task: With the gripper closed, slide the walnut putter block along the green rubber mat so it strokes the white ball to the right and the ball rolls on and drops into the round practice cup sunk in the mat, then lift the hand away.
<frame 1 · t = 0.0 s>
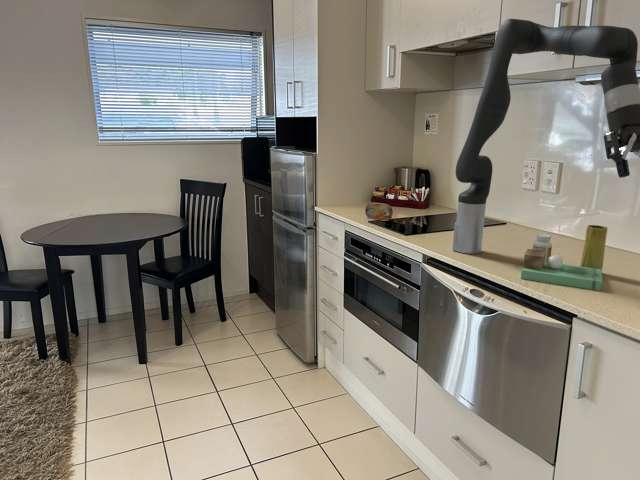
hand: (637, 176, 108), 31 cm above the worktop, tool tilted 20°, fingers open, 8 cm apart
putter block: (533, 265, 140), point 2 cm above the worktop, touching green
green: (560, 278, 137), on the worktop
supplement bottle: (539, 265, 150), on the worktop
tin: (378, 221, 221), on the worktop
vase: (590, 273, 143), on the worktop
ball: (555, 262, 137), point 4 cm above the worktop, touching green
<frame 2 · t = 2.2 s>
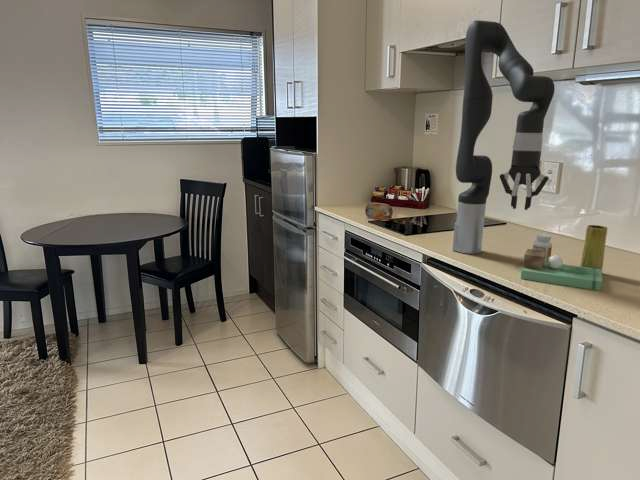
hand: (520, 208, 139), 19 cm above the worktop, tool pointing down, fingers closed
nothing on the worktop moved.
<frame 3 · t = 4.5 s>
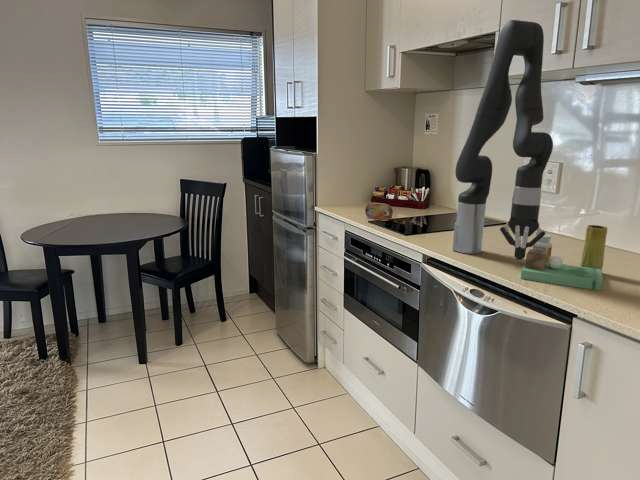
hand: (519, 259, 141), 4 cm above the worktop, tool pointing down, fingers closed
putter block: (535, 266, 140), point 2 cm above the worktop, touching green, gripper
everything else where it was.
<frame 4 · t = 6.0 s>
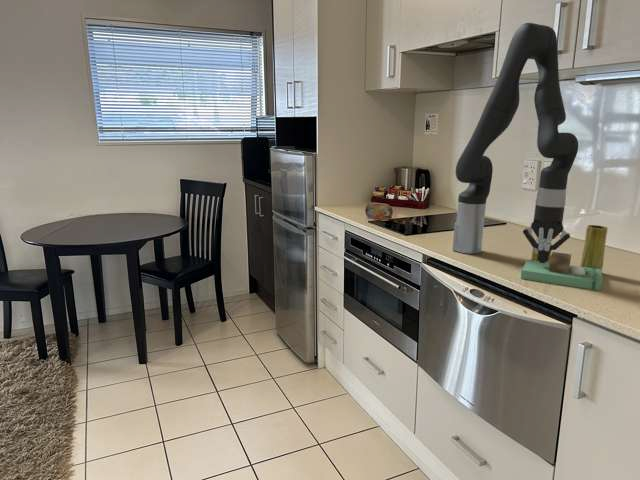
hand: (542, 262, 138), 4 cm above the worktop, tool pointing down, fingers closed
putter block: (559, 269, 137), point 2 cm above the worktop, touching green, gripper
ball: (577, 273, 135), point 2 cm above the worktop, tilted 149°, touching green
everything else where it was.
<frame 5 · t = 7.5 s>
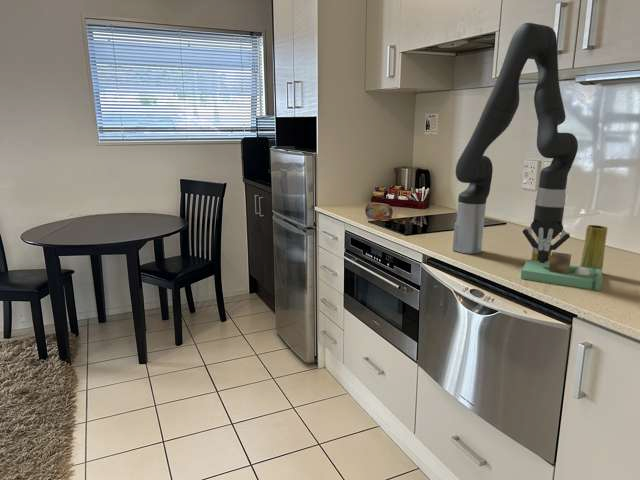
hand: (542, 262, 138), 4 cm above the worktop, tool pointing down, fingers closed
ball: (582, 274, 134), point 2 cm above the worktop, tilted 139°, touching green
everything else where it was.
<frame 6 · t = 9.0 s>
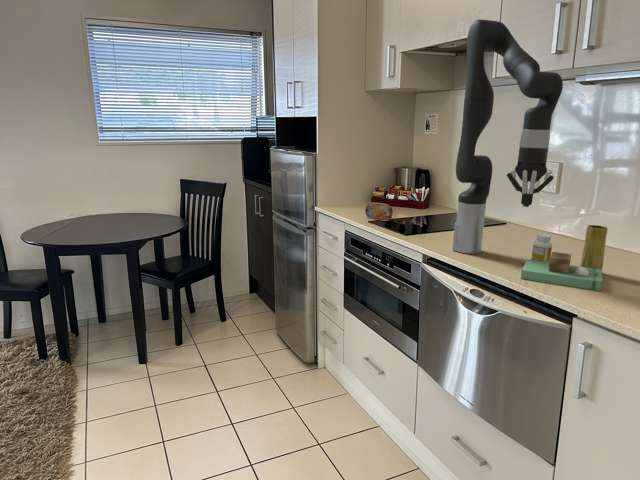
hand: (525, 206, 138), 20 cm above the worktop, tool pointing down, fingers closed
putter block: (559, 269, 137), point 2 cm above the worktop, touching green
everything else where it was.
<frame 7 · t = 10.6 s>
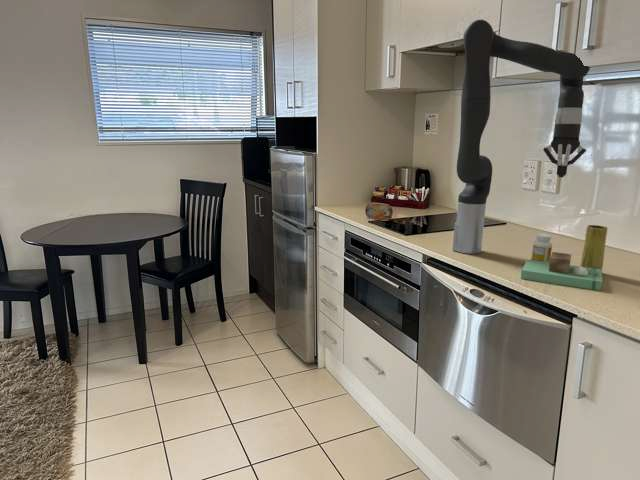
hand: (560, 177, 155), 27 cm above the worktop, tool pointing down, fingers closed
nothing on the worktop moved.
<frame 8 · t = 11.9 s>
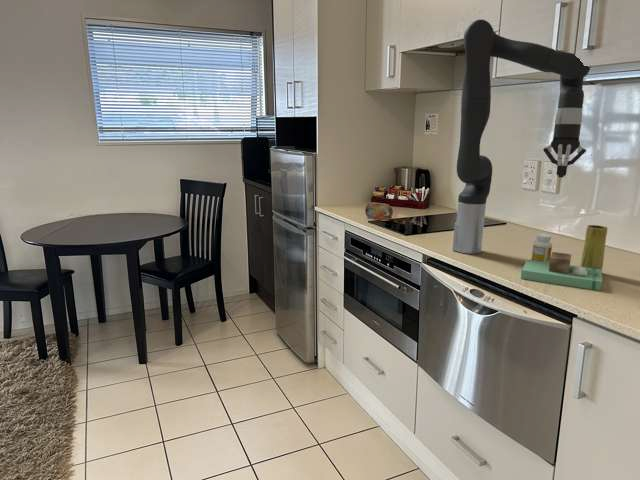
hand: (560, 177, 155), 27 cm above the worktop, tool pointing down, fingers closed
nothing on the worktop moved.
at the end: ball 0.1 cm from the target spot on the green, point 2.1 cm above the green's base; the gripper is holding nothing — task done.
